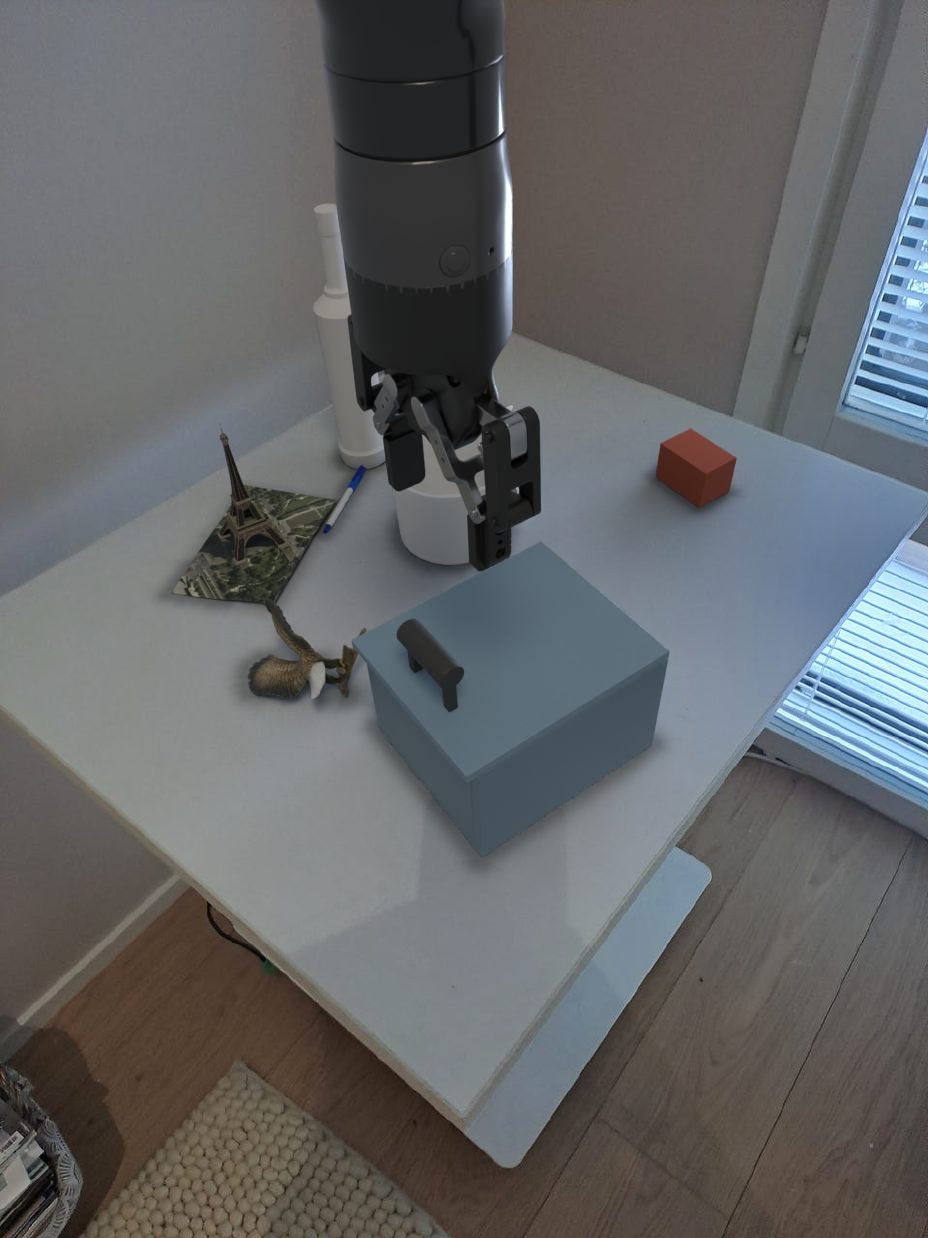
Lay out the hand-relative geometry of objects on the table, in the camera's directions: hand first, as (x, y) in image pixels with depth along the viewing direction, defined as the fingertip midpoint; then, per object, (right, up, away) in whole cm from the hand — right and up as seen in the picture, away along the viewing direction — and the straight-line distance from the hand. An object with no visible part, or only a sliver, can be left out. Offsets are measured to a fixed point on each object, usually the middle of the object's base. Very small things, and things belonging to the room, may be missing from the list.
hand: (446, 521), depth 51 cm
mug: (+1, +3, +33) cm, 33 cm away
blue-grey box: (+5, -14, +16) cm, 22 cm away
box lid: (+4, -8, +9) cm, 13 cm away
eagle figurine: (-12, -11, +21) cm, 26 cm away
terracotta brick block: (+23, +7, +36) cm, 43 cm away
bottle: (-9, +11, +41) cm, 44 cm away
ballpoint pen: (-11, +6, +37) cm, 39 cm away
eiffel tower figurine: (-18, +1, +33) cm, 37 cm away
